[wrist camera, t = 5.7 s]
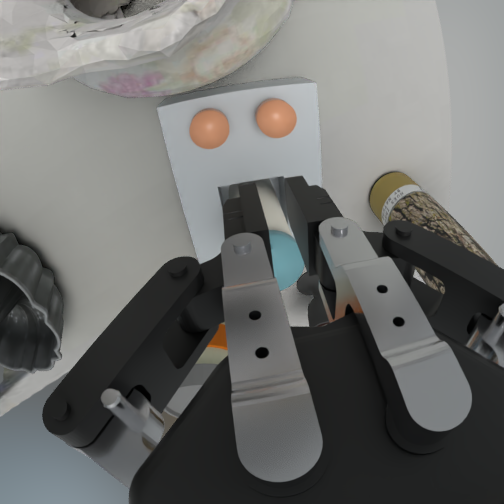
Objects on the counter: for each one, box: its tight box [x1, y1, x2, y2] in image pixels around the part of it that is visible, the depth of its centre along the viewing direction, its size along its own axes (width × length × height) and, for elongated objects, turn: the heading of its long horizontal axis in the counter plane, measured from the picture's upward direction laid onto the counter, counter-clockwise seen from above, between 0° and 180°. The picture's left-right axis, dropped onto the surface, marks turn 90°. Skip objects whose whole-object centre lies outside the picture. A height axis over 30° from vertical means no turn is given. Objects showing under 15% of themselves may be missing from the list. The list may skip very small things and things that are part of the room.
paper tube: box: [370, 172, 498, 294], centre depth 28 cm, size 7×7×25 cm
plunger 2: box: [255, 98, 297, 138], centre depth 25 cm, size 3×3×4 cm
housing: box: [157, 77, 322, 264], centre depth 32 cm, size 20×14×5 cm
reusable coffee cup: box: [164, 322, 228, 418], centre depth 42 cm, size 13×13×15 cm
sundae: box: [297, 272, 330, 327], centre depth 39 cm, size 7×7×15 cm
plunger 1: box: [189, 108, 229, 149], centre depth 25 cm, size 3×3×4 cm
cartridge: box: [228, 178, 304, 291], centre depth 29 cm, size 6×6×14 cm
